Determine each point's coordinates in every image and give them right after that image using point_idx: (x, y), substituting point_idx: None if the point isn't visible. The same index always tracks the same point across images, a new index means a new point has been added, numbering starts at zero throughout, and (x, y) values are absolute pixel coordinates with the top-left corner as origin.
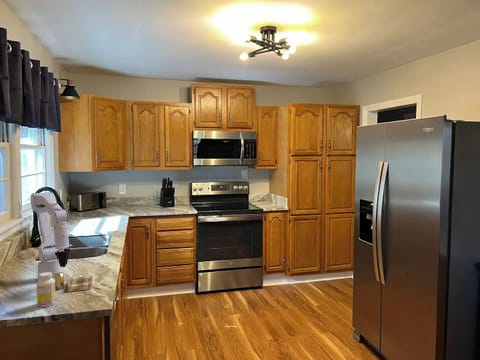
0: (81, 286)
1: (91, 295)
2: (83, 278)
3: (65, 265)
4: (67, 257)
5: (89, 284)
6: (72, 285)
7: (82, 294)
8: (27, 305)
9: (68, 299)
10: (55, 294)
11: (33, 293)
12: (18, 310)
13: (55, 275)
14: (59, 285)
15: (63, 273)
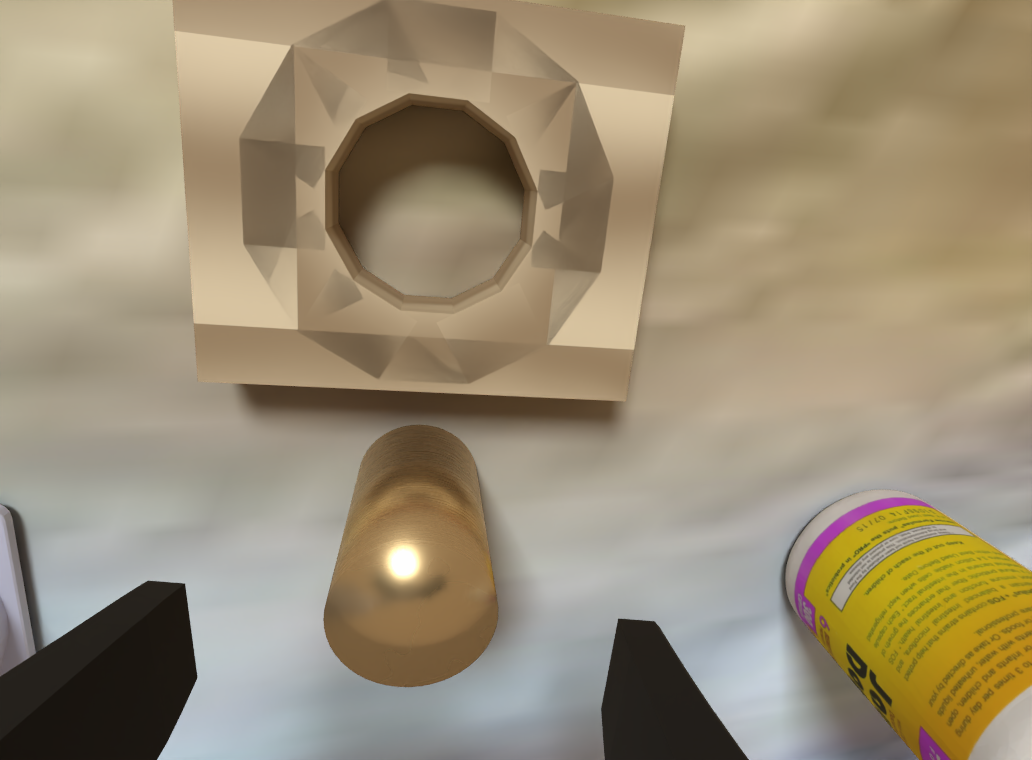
0: (650, 203)
1: (898, 80)
2: (299, 146)
3: (671, 649)
4: (13, 741)
5: (678, 67)
6: (603, 336)
7: (792, 198)
8: (780, 699)
9: (857, 363)
10: (948, 534)
11: (467, 707)
12: (852, 738)
13: (475, 654)
14: (481, 502)
15: (431, 544)
